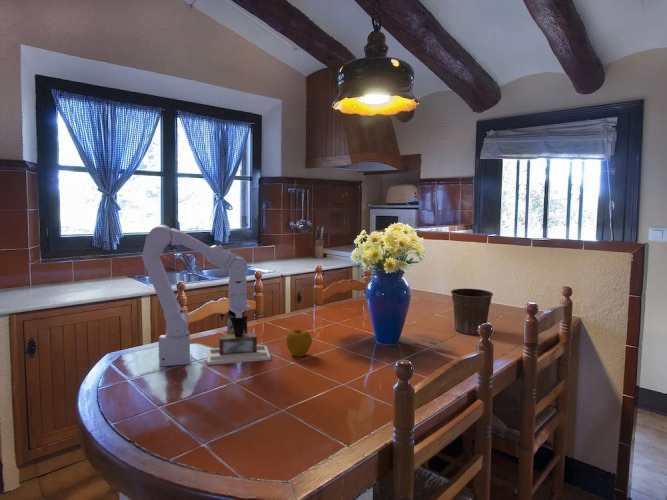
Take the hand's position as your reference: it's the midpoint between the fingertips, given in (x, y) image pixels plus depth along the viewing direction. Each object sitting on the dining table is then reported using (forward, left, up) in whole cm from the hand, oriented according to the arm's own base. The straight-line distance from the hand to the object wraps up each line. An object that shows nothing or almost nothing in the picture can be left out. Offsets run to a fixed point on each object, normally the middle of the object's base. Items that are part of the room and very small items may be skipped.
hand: (237, 333), depth 148 cm
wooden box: (0, 0, -7) cm, 7 cm away
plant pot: (+93, +9, -8) cm, 94 cm away
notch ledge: (0, 0, -8) cm, 8 cm away
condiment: (+1, +17, -4) cm, 17 cm away
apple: (+20, -3, -8) cm, 22 cm away
